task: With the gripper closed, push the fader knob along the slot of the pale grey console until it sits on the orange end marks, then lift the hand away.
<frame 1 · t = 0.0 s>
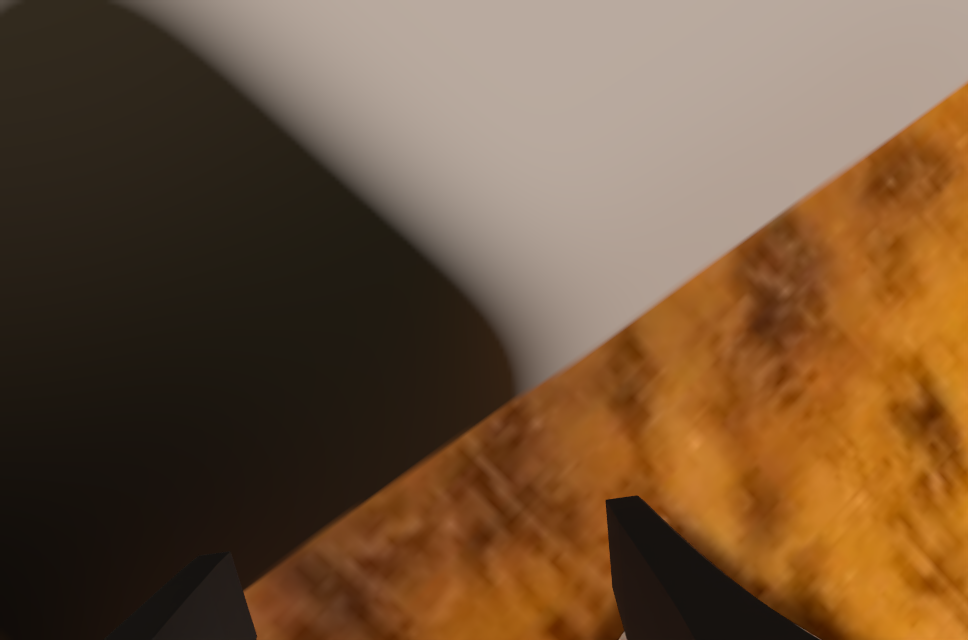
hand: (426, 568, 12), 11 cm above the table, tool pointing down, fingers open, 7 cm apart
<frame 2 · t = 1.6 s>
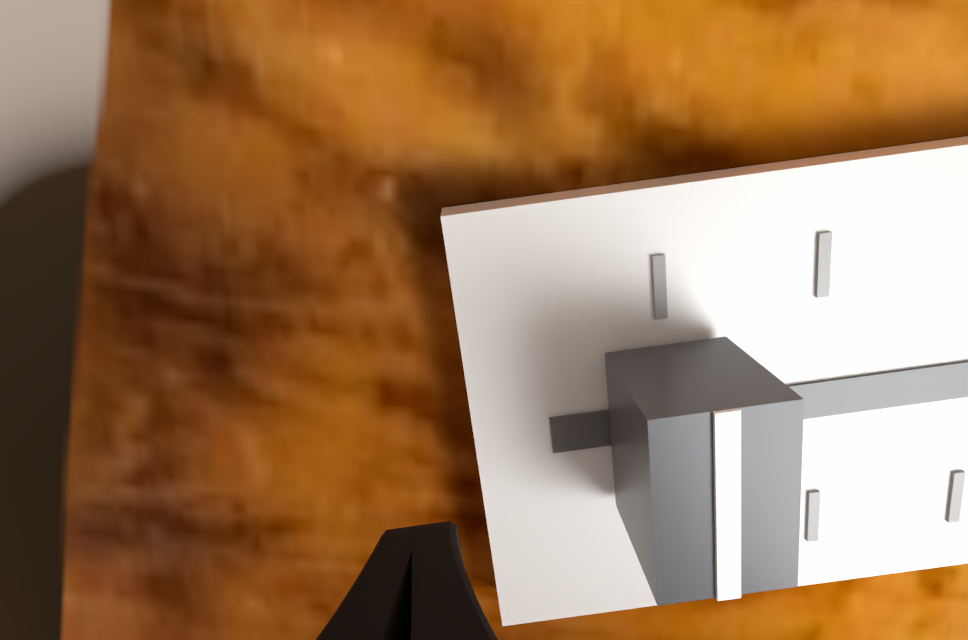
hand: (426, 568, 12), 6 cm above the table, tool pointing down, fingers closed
console: (927, 356, 18), on the table
fader: (694, 462, 14), point 4 cm above the table, slide at 0.0 cm
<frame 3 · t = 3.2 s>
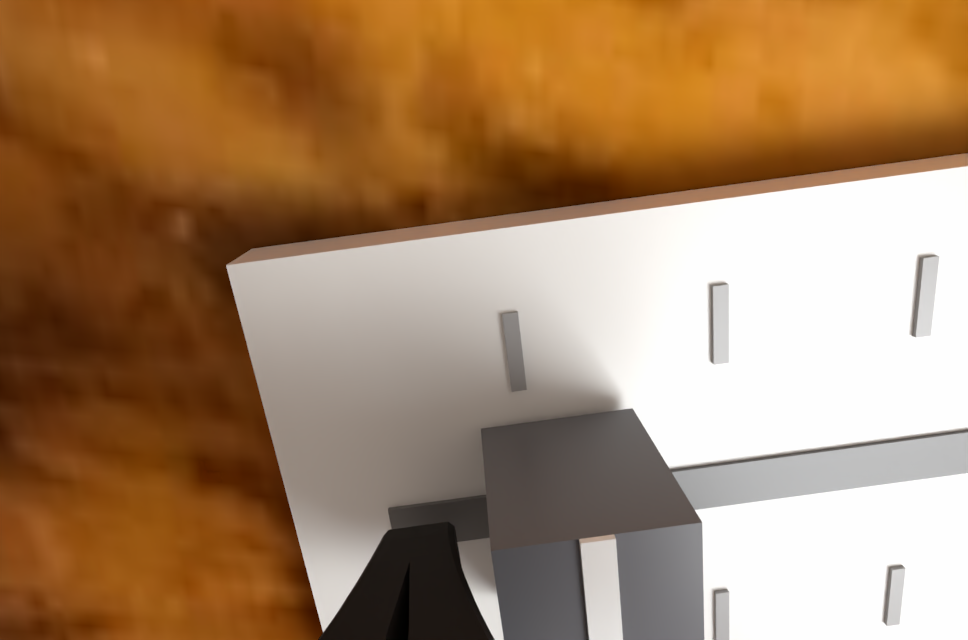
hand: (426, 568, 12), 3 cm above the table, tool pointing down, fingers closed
console: (862, 424, 15), on the table
fader: (583, 576, 11), point 4 cm above the table, slide at 0.7 cm, touching gripper
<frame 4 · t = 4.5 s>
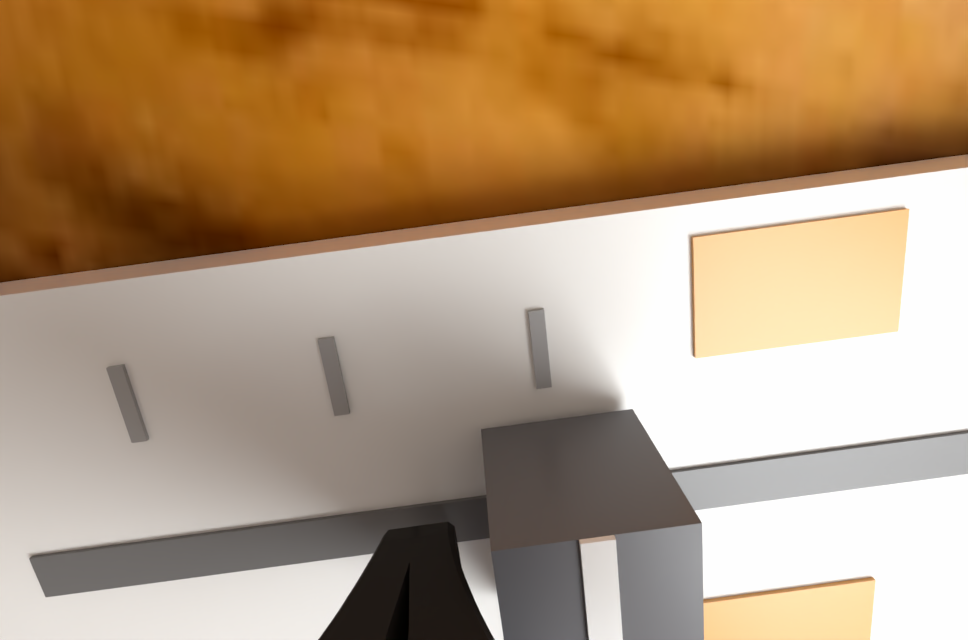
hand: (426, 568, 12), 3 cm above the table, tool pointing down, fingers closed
console: (546, 468, 15), on the table
fader: (583, 576, 11), point 4 cm above the table, slide at 8.2 cm, touching gripper
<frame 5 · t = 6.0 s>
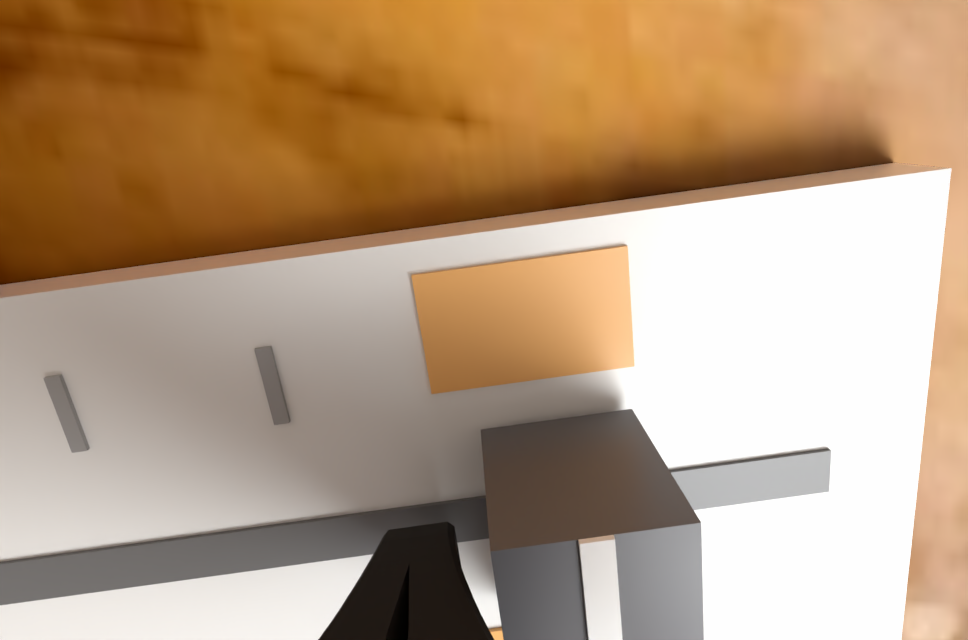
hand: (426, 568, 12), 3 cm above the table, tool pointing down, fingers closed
console: (327, 498, 15), on the table
fader: (583, 576, 11), point 4 cm above the table, slide at 13.3 cm, touching gripper
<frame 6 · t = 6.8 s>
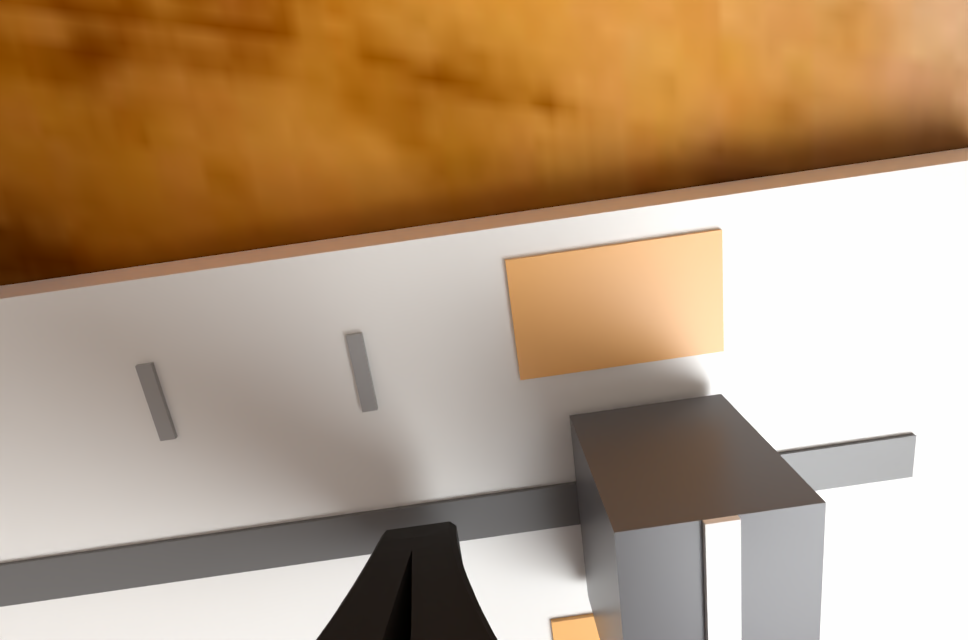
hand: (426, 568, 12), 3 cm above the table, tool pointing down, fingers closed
console: (401, 487, 14), on the table
fader: (682, 560, 11), point 4 cm above the table, slide at 13.4 cm
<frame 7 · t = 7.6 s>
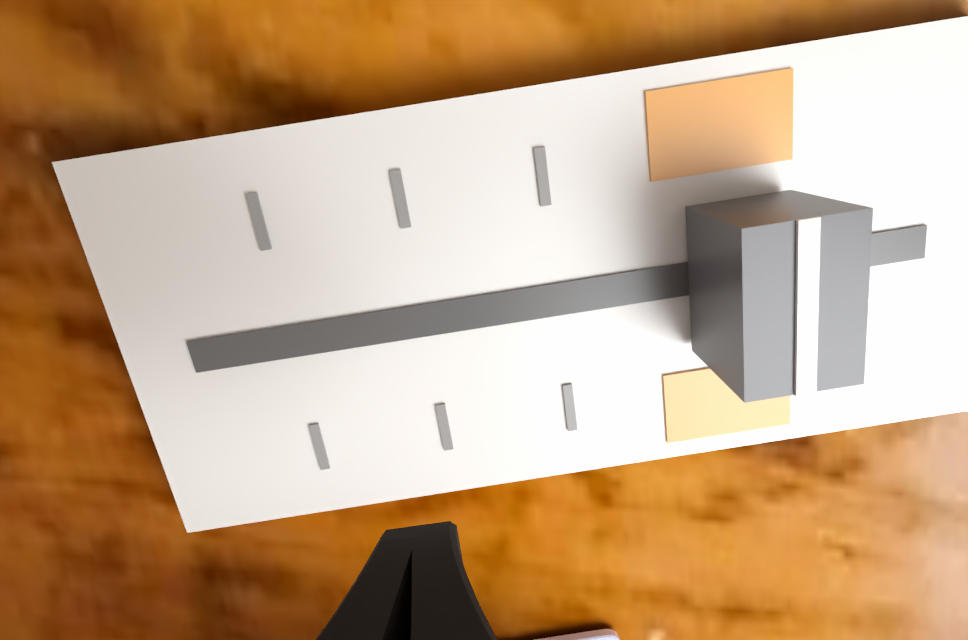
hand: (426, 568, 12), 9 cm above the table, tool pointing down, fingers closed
console: (549, 285, 20), on the table
fader: (769, 290, 16), point 4 cm above the table, slide at 13.4 cm
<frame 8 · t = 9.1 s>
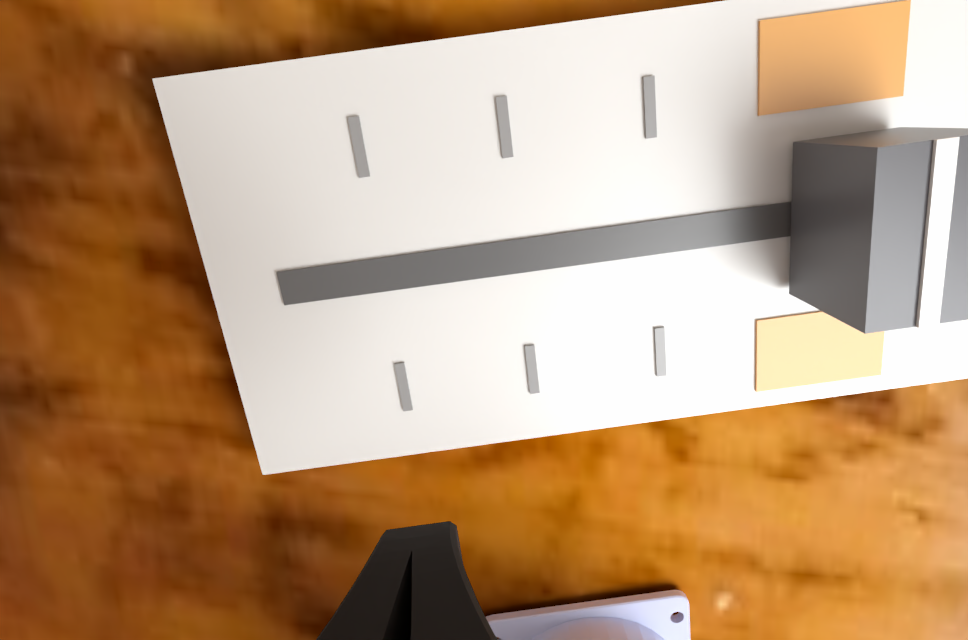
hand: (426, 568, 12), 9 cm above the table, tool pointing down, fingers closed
console: (640, 228, 19), on the table
fader: (885, 224, 16), point 4 cm above the table, slide at 13.4 cm
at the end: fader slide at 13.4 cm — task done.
